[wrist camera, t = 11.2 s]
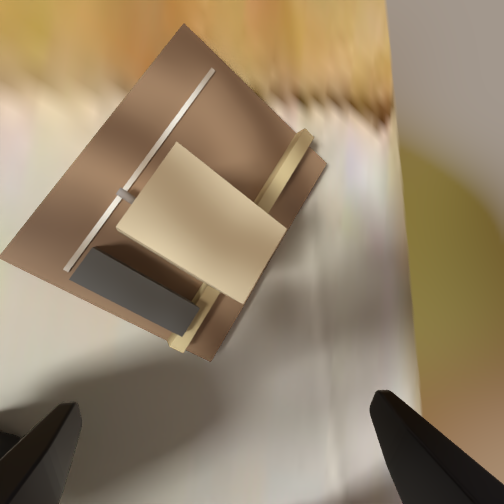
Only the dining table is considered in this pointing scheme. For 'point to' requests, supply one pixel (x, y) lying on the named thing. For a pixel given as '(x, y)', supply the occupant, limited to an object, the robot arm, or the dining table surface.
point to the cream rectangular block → (201, 224)
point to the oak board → (136, 177)
